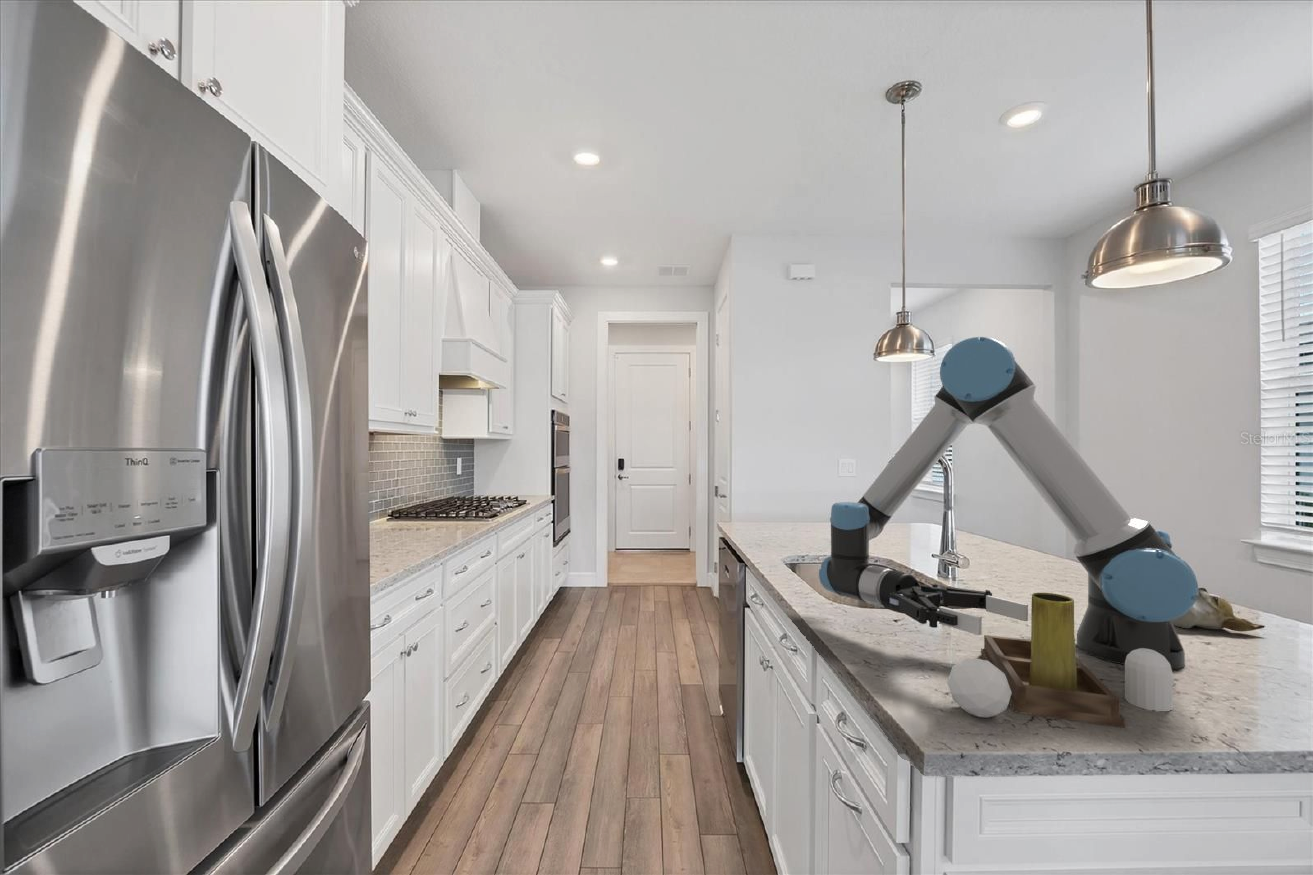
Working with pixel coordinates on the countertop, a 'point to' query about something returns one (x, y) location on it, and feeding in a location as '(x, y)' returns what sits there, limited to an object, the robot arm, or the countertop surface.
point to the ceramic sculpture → (1213, 615)
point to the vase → (1053, 642)
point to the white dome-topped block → (1148, 680)
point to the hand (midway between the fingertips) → (1004, 619)
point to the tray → (1080, 705)
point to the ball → (979, 687)
